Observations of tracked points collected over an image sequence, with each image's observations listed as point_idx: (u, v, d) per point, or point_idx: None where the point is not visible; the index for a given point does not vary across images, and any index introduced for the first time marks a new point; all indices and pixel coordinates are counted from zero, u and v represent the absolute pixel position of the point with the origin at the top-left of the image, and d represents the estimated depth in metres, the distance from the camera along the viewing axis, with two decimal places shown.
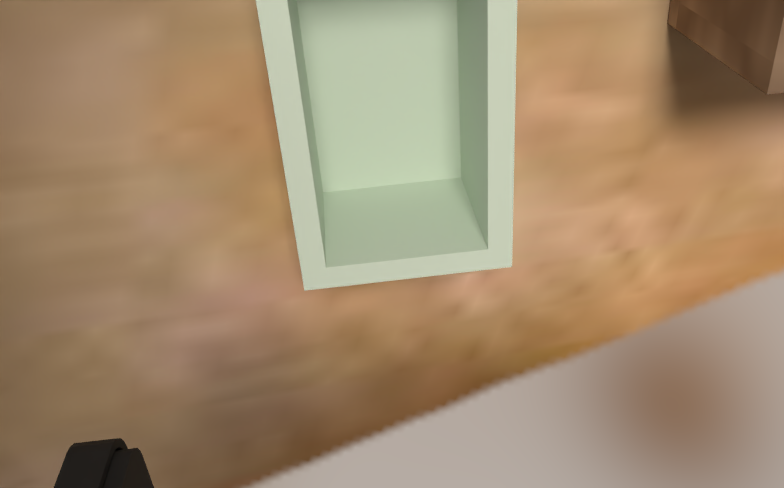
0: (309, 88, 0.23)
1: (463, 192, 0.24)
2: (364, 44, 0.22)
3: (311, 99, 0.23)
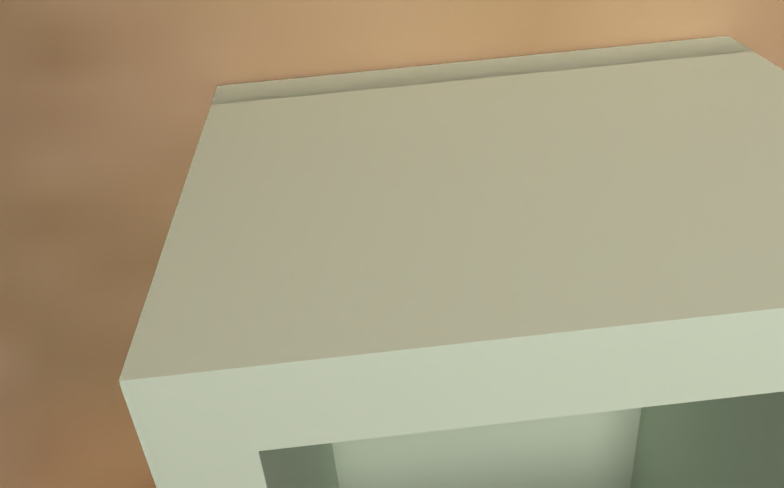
0: (336, 463, 0.11)
1: None
2: None
3: (340, 477, 0.11)
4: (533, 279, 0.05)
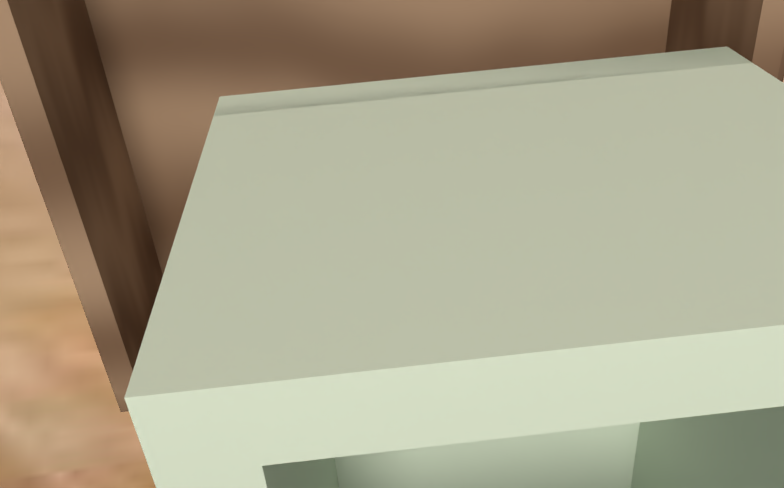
0: (337, 469, 0.11)
1: None
2: None
3: (341, 483, 0.11)
4: (533, 295, 0.05)
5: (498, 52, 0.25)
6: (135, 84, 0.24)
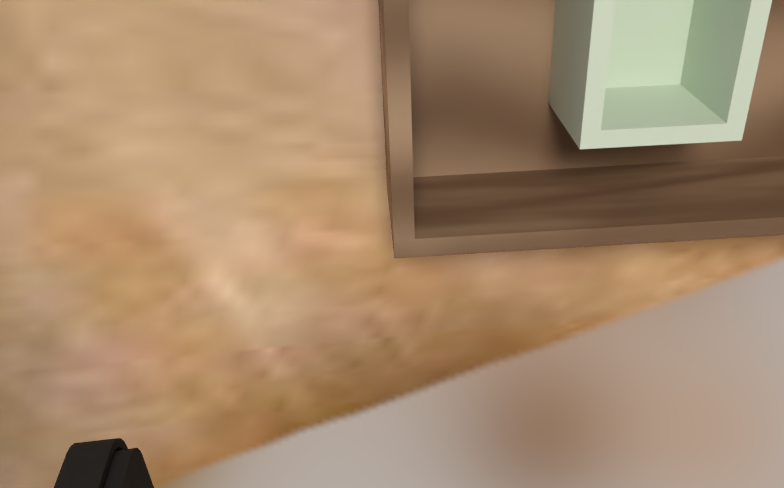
0: None
1: (687, 92, 0.30)
2: None
3: None
4: None
5: None
6: None
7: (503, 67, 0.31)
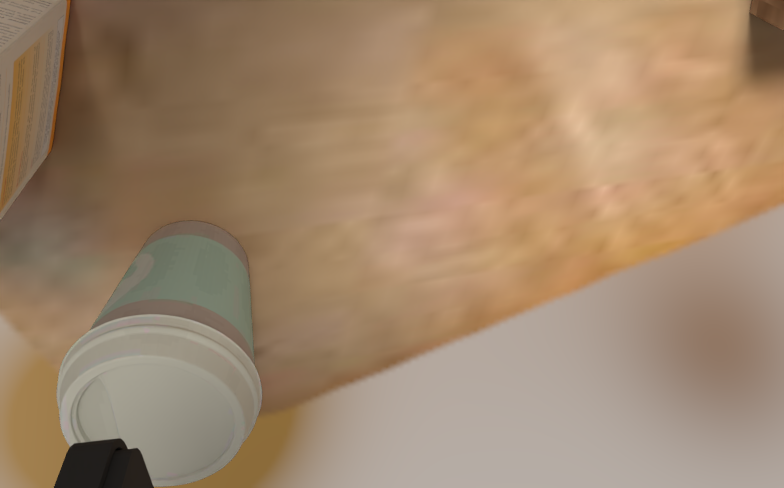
0: None
1: None
2: None
3: None
4: None
5: None
6: None
7: None
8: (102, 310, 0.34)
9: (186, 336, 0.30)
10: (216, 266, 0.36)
